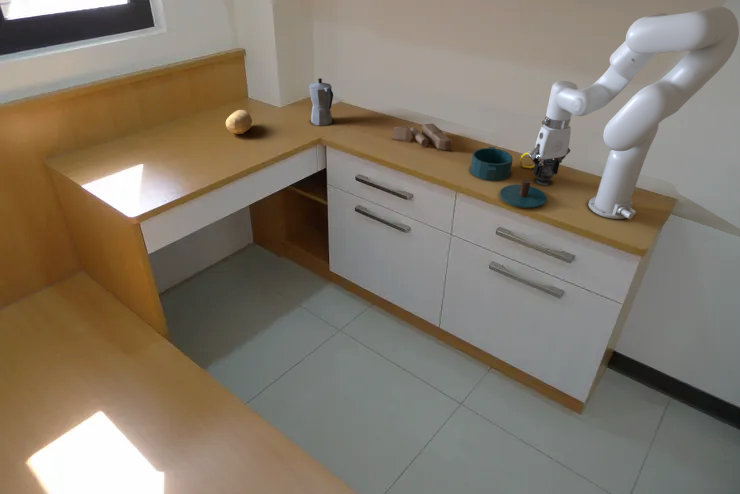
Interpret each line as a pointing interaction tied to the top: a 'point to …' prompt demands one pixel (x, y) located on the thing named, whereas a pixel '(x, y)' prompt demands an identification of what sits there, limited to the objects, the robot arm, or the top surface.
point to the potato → (239, 122)
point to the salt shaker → (545, 173)
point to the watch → (523, 156)
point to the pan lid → (523, 195)
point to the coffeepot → (321, 103)
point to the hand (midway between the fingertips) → (545, 173)
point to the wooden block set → (423, 136)
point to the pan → (491, 164)
